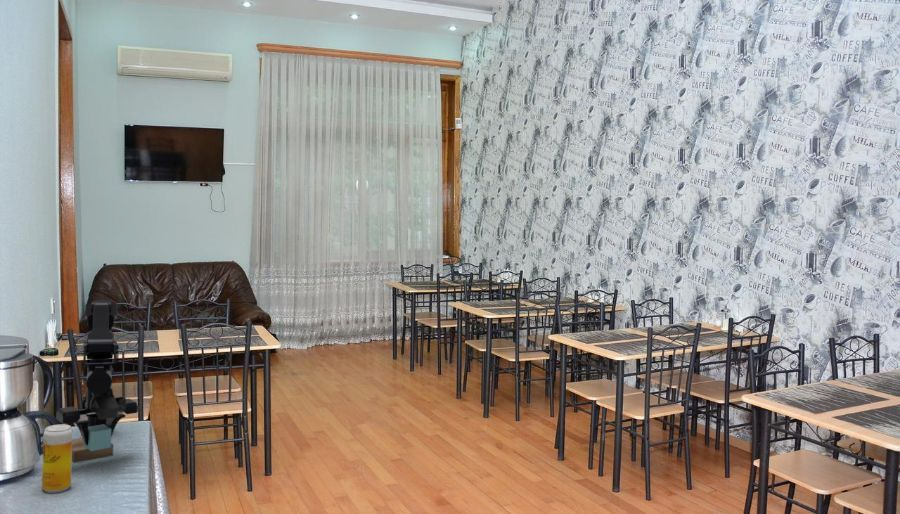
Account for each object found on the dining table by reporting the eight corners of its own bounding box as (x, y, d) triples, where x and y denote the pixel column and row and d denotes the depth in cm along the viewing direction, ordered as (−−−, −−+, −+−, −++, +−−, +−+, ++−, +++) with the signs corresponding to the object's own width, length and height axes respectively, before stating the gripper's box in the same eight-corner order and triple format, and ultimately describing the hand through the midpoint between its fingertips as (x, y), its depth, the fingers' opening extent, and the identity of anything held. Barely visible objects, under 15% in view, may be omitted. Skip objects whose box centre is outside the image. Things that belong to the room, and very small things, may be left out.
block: (83, 446, 187) (84, 427, 187) (103, 442, 191) (104, 424, 190) (90, 451, 184) (91, 432, 183) (110, 447, 187) (111, 428, 187)
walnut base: (61, 452, 195) (61, 441, 195) (99, 445, 202) (99, 435, 202) (73, 462, 188) (74, 451, 188) (112, 455, 195) (113, 444, 195)
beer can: (38, 488, 170) (39, 426, 170) (65, 482, 175) (67, 422, 174) (47, 495, 166) (48, 433, 166) (74, 489, 171) (76, 428, 170)
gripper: (71, 396, 174) (69, 458, 175) (147, 386, 187) (145, 444, 188) (56, 386, 182) (54, 446, 183) (130, 377, 195) (128, 433, 196)
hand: (97, 442), depth 187 cm, fingers closed on block, 5 cm apart
